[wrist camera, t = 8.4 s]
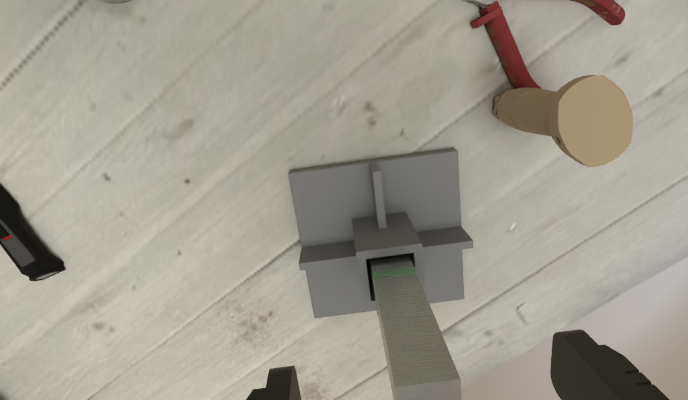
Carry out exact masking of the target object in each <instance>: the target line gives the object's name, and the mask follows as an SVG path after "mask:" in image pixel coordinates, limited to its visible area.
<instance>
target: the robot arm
mask: <svg viewBox="0 0 688 400" xmlns="http://www.w3.org/2000/svg"><path fill="white" fill-rule="evenodd" d="M100 1H103V2H109V3H121V2H126V1H129V0H100ZM551 379H552V383H553V386H554V388H555V391H556V392H557V394H558V396H559V397H560V398H561V400H669V399H668V398H667V397H666V396H665V395H664V394H663V393H662V392H661V391H660V390H659V389H658V388H657V387H656V386H655V385H652V384H651V382H650V380H648V379H647V378H646V377H645V376H644V375H643V374H642V373H639V370H638V369H637V368H636V367H635V366H634V365H633V364H632V363H631V362H630V361H629V360H628V359H627V358H626V357H624V356H623V355H622V354H620V353H618V352H616V351H615V350H613V349H611V348H610V347H608V346H606V345H598V344H597V343H596V342H595V341H594V340H593V339H592V338H591V337H590V336H589V335H588V334H587V333H586V332H585V331H583V330H572V331H564V332H557V333H555V334H554V336H553V344H552V358H551ZM246 400H301V395H300V390H299V385H298V380H297V375H296V370H295V367H294V366H288V367H280V368H273V369H270V370H269V374H268V379H267V385H266V388H261V389H254V390H253V391H252V392H251V393H250V395H249V396H248V398H247V399H246Z"/></svg>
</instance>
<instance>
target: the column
mask: <svg viewBox="0 0 688 400" xmlns="http://www.w3.org/2000/svg"><path fill="white" fill-rule="evenodd" d="M369 260H370V268H371V276H372V284H373V290H374V295H375V301H376V309H377V315H378V317H379V322H380V328H381V333H382V339H383V344H384V350H385V355H386V360H387V366H388V371H389V377H390V382H391V388H392V393H393V398H394V400H461V382H460V377H459V375H458V372H457V370H456V367H455V365H454V363H453V360H452V358H451V355H450V353H449V350H448V348H447V346H446V343H445V341H444V338H443V336H442V334H441V331H440V329H439V326H438V324H437V321H436V319H435V317H434V314H433V312H432V309H431V307H430V304H429V302H428V300H427V297H426V295H425V292H424V290H423V288H422V285H421V283H420V280H419V278H418V275H417V271H416V269H415V267H414V266H413V263H412V261H411V259H410V256H409V254H400V255H392V256H385V257H377V258H370V259H369Z"/></svg>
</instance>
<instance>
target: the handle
mask: <svg viewBox="0 0 688 400" xmlns="http://www.w3.org/2000/svg"><path fill="white" fill-rule="evenodd" d="M494 101H495V107H494V110H493V114H494V115H495V116H496V117H497V118H500V119H501V120H502V121H503V122H505V123H506V124H508V125H509V126H511V127H513V128H516V129H518V130H521V131H525V132H529V133H535V134H541V135H547V136H552V138H553V140H554V141H555V143H556V144H557V145H558V146H559V148H560V149H561V150H562V151H563V152H564V153H566V154H567V155H568V156H569V157H571V158H572V159H574V160H575V161H577V162H579V163H580V164H582V165H585V166H588V167H596V166H601V165H604V164H606V163H608V162H611V161H612V160H614V159H615V158H617V157H619V156H620V155H621V154H622V153H623V152H624V151H625V150H626V149H627V147H628V146H629V145H630V143H631V138H632V129H633V115H632V111H631V108H630V106H629V103H628V101H627V98H626V96H625V94H624V92H623V91H622V90H621V89H620V88H619V87H618V86H617V85H616V84H615V83H613V82H612V81H611V80H609V79H608V78H606V77H605V76H604V75H589V76H582V77H579V78H576V79H574V80H572V81H570V82H568V83H567V84H566V85H564V86H563V87H562V88H560V89H559V90H558V91H557V92H553V91H549V90H544V89H539V88H518V89H508V90H505V91H504V93H503V94H501V95H499V96H496V97H495V98H494Z"/></svg>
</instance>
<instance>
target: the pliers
mask: <svg viewBox="0 0 688 400" xmlns="http://www.w3.org/2000/svg"><path fill="white" fill-rule="evenodd" d="M463 1H466V2H468V3H469V2H471V1H472V2H474V3H475V4H476V5H477V7H478V8H479V9H480V10H479V13H480V15H481V16H480V17H478V18H477V19H475V20H474V21H472V22H470V24H471V26H472V28H477V27H479V26H481V25H483V24H485V25H486V28H487V30H488V32H489V34H490V37H491V39H492V41H493V44H494V46H495V48H496V50H497V53H498V55H499V57H500V59H501V62H502V64H503V66H504V68H505V71H506V73H507V75H508V77H509V79H510V81H511V83H512V84H513V86H514V87H515V89H518V88H539V89H542V88H540V87H539V86H538V85H537V84H536V83H535V82H534V81H533V79H532V78H531V76H530V75H529V73H528V71H527V69H526V67H525V64H524V62H523V60H522V57H521V55H520V53H519V50H518V48H517V45H516V43H515V41H514V38H513V36H512V34H511V31H510V29H509V27H508V24H507V22H506V20H505V17H504V15H503V11H502V9H501V6H499V3H498V1H496V2H494V1H495V0H463ZM571 1H575V2H579V3H581V4H584V5H585V6H587V7H589V8H590V9H591V10H593V11H594V12H595V13H596V14H598V15H599V16H600V17H602V18H603V19H604V20H606V21H607V22H608V23H609V24H611V25H619V24H621V23H622V21H623V20H624V18H625V11H624V9H623V8H622V7H621V6H620V5H618V4H617V3H616V2H615V1H614V0H571Z"/></svg>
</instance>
